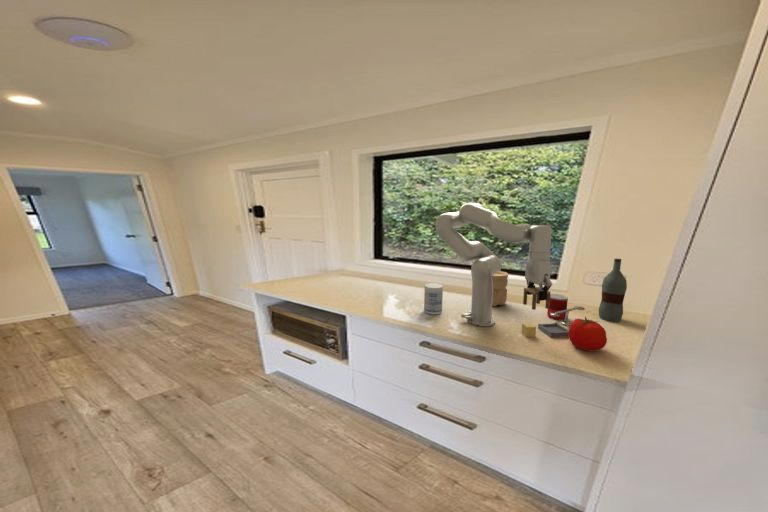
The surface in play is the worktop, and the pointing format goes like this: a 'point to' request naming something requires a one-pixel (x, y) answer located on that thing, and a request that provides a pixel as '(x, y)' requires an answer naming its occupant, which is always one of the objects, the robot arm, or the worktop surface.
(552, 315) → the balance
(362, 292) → the worktop surface
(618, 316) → the bottle
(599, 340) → the tomato
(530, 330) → the block
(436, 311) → the supplement tub
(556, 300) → the canned food
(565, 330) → the dish
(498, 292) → the container
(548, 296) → the small wooden table
